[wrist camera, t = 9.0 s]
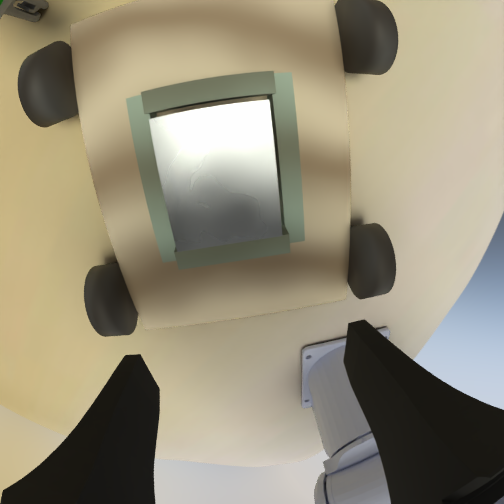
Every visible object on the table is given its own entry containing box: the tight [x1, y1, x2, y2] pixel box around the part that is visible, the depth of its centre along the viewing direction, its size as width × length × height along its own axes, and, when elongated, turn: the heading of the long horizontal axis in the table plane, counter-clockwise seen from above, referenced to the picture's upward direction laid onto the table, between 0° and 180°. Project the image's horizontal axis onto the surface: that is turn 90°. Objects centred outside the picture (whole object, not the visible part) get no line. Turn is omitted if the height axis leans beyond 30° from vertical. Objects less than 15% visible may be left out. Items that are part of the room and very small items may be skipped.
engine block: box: [149, 100, 282, 252], centre depth 12 cm, size 5×4×5 cm
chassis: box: [18, 0, 398, 337], centre depth 13 cm, size 20×17×4 cm
